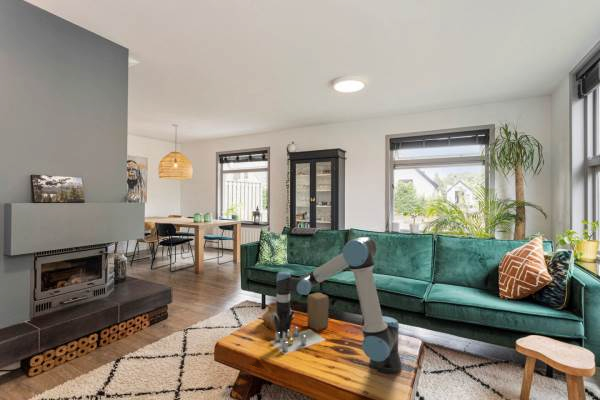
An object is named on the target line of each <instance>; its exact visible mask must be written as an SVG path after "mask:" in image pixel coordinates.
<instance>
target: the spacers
mask: <svg viewBox="0 0 600 400" xmlns="http://www.w3.org/2000/svg"><path fill="white" fill-rule="evenodd" d="M287 331H288V332H287V336H290V335H291V334H290V333H291V332H290V331H291V329H290V330H287ZM298 333H299V327H298V326H297V325H295V326H293V327H292V334H293V336H294V337H298ZM274 334H275V335H274V337H275V338H274V340H275V342H276V343H279V342H280V341H281V338H280V337H279V332H275V331H274ZM301 346H306V335H304V334H303V335H301ZM282 352H284V353H286V352H288V341H287V340H284V341H282ZM282 352H281V353H282Z"/></svg>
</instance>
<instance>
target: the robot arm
mask: <svg viewBox="0 0 600 400" xmlns="http://www.w3.org/2000/svg"><path fill="white" fill-rule="evenodd" d="M376 253H377V244H376V243H375V241H374V239H372V238H370V237H369V236H365V235H364V236H363V235H362V236H359V237H356V238H352V239H350V240H349V241H347V242H346V243H345V244H344V246H343V249H342V253H340V254H338V255H337V256H335V257H333V258H332V259H330V260H329V261H327V262H325V263H323V264H322V265H320V266H318V267H317V268H316V269H314V270H312V271H310V272H308V273H307V274H305V275H303V276H301V277H298V278H297V277H293V276H291V272H289V271H279V272H277V274H276V301H275V302H276V307H277V310H276V314H275V315H272V317H273V319H274V323H275V327H276V331H277V332H279V337H280V338H281V341H280V343H281V344H282V341H284V340H285V337H286V336H287V332H288V331H287V330H289V329H290V325H291V326H292V322H291V321H293V320H292V316H293V315H294V314H295V312H294V311H293V310H292V309H291V310H290V308H291V292H292V293H294V294H299V295H305V296H306V295H307V296H308V295H310V293H311V290H312V288H314V287H315V286H317V285H319V284H320V283H322V282H324V281H326V280H328V279H329V278H331V277H332V276H334V275H336V274H337V273H339V272H341V271H343V270H346V268H348V267H349V268H348V269H349V270H350V271H351V272H353V276H354V282H355V286H356V291H357V295H358V300H359V304H360V309H361V314H362V319H363V325H362V328H361V331H362V334H363V339H362V342H361V343H362V344H361V348H362V352H363V353H364V354H365V356H366V357H367V358H369V364H370V366H371V368H373V369H374V370H375V371H378V372H380V373H384V374H389V375H390V374H396V373H400V371H402V369H403V368H402V367H403V366H402V365H403V364H402V360H401V357H400V353H399V328H400V326H399V321H398V320H397V319H395V318H394V317H390V316H384V315H383V314H382V309H381V306H380V305H381V304H380V301H379V297H378V291H377V287H376V281H375V278H374V273H373V268H374V267H375V262H374V256H375V255H376ZM277 315H278V317H279V323H278V319H277V318H278V317H277ZM290 330H291V329H290Z"/></svg>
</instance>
